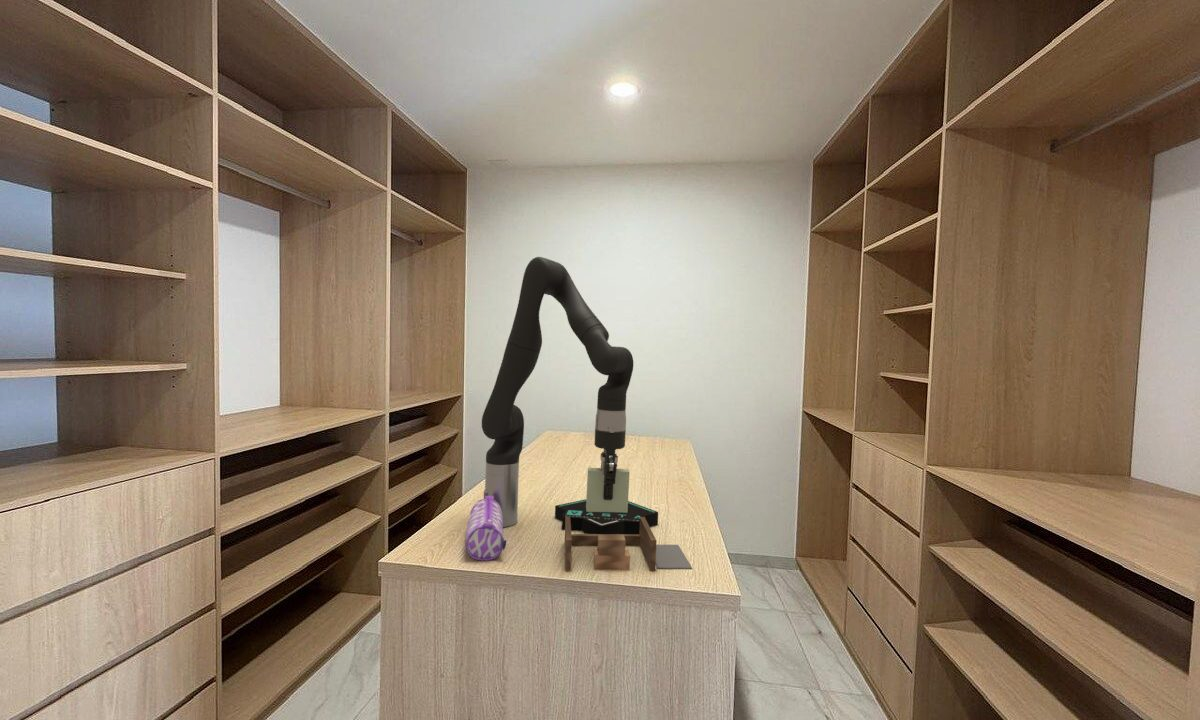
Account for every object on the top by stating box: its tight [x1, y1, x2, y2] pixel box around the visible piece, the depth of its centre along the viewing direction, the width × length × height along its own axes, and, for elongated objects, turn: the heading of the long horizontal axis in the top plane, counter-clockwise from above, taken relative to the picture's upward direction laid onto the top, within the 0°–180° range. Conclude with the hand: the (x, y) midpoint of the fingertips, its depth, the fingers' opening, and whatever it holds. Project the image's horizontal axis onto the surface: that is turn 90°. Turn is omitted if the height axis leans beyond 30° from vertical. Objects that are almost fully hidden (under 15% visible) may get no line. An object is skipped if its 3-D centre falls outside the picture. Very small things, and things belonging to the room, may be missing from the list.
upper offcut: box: [597, 535, 626, 556], centre depth 119 cm, size 6×4×4 cm, turn 94°
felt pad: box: [656, 544, 693, 570], centre depth 126 cm, size 8×14×1 cm, turn 5°
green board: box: [585, 467, 630, 512], centre depth 128 cm, size 10×3×10 cm, turn 94°
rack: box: [563, 516, 657, 572], centre depth 125 cm, size 20×16×7 cm
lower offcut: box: [593, 548, 631, 571], centre depth 120 cm, size 8×4×4 cm, turn 92°
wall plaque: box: [554, 499, 659, 534], centre depth 151 cm, size 30×4×30 cm
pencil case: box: [465, 496, 507, 561], centre depth 130 cm, size 22×9×10 cm, turn 13°
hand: (607, 497), depth 128 cm, fingers closed on green board, 3 cm apart
